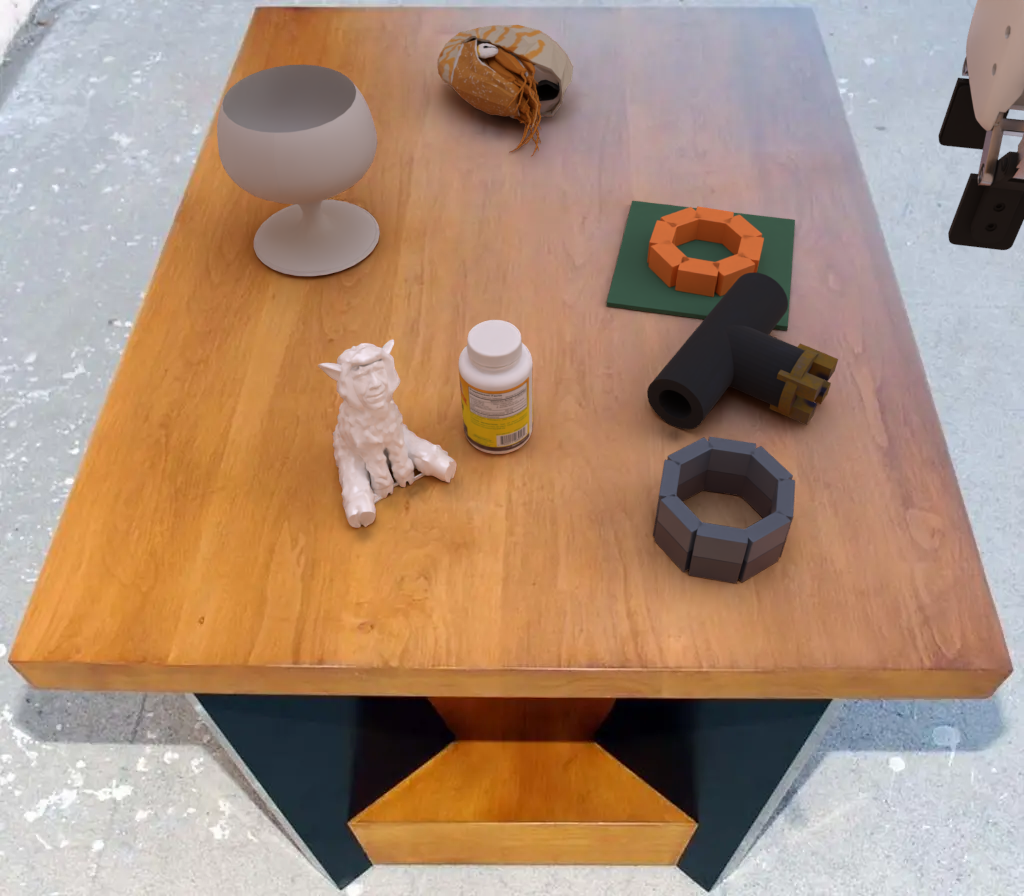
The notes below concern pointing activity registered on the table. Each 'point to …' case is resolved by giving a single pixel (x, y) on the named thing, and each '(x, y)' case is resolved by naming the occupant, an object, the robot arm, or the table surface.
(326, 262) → the chalice
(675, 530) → the ring stack
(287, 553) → the table surface
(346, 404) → the white creature statuette
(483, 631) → the table surface
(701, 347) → the pipe connector
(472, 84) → the nautilus
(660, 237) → the orange ring
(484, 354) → the supplement bottle
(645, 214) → the green mat
